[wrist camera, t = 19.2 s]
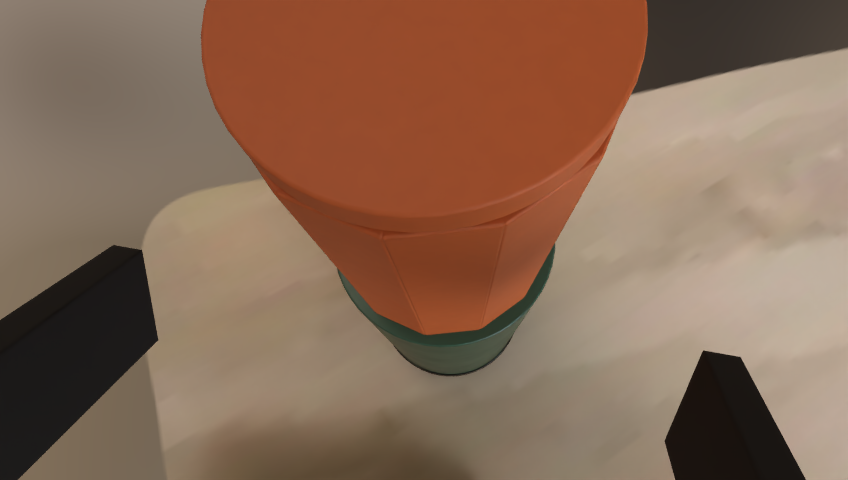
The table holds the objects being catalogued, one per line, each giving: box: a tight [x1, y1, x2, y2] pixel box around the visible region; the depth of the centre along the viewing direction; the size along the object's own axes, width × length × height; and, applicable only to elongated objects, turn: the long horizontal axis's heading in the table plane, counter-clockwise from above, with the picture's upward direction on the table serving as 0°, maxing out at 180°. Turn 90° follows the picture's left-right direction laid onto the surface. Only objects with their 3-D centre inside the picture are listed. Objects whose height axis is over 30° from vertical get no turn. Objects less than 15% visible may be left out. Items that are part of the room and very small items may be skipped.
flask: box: [337, 244, 555, 376], centre depth 26 cm, size 9×9×18 cm
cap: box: [201, 0, 648, 335], centre depth 15 cm, size 7×7×12 cm
